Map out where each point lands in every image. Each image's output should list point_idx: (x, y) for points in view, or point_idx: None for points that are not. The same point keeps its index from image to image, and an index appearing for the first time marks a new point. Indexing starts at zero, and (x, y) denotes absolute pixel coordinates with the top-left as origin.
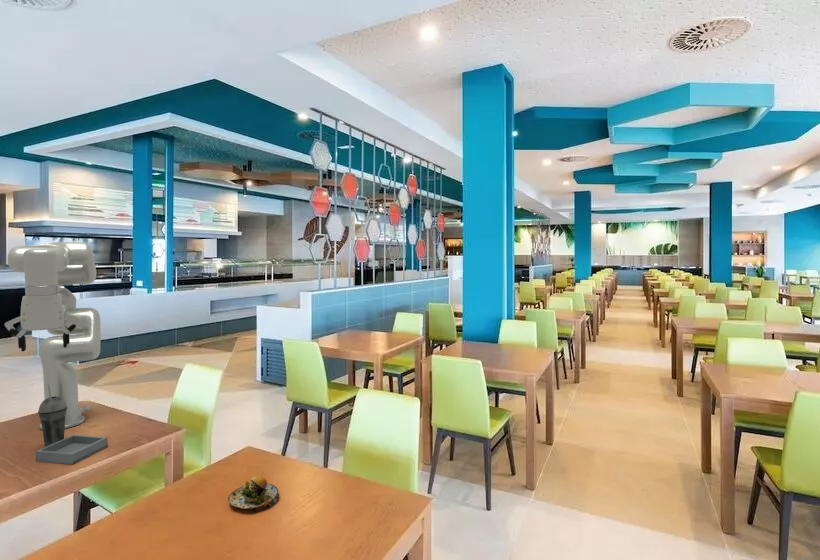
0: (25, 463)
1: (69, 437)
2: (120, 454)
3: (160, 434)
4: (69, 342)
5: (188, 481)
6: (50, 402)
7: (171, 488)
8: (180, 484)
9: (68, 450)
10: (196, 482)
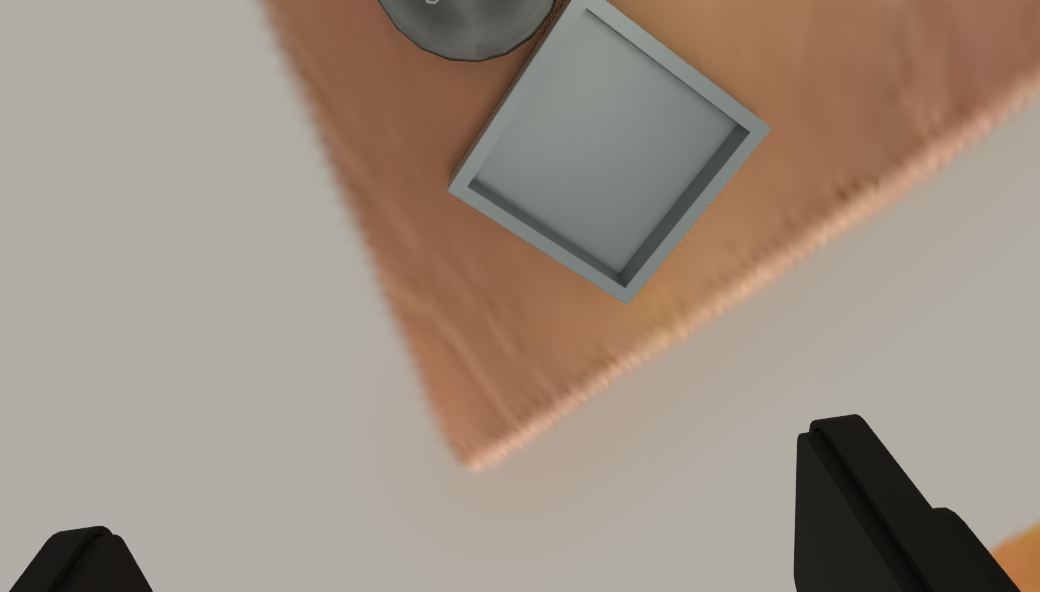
0: (410, 181)
1: (569, 30)
2: (806, 249)
3: (1022, 35)
4: (945, 509)
5: None
6: (467, 35)
7: None
8: None
9: (577, 128)
10: None
